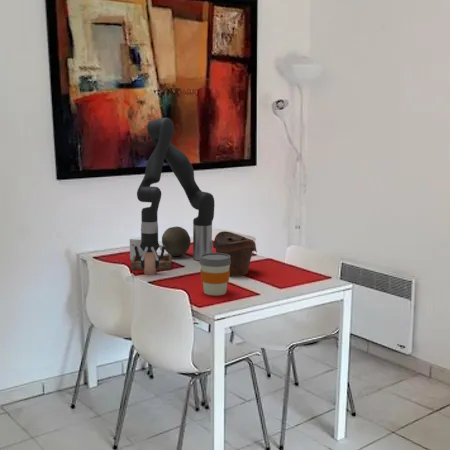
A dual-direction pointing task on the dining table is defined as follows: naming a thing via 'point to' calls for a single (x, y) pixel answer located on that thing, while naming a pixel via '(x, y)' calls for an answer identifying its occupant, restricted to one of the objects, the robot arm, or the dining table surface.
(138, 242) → the small box
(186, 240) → the cantaloupe
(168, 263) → the tray
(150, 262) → the tan round cylinder
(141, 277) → the dining table surface
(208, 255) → the reusable coffee cup
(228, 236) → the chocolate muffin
